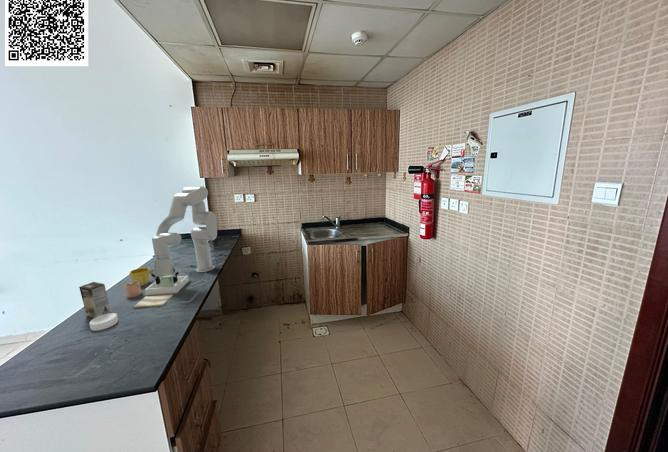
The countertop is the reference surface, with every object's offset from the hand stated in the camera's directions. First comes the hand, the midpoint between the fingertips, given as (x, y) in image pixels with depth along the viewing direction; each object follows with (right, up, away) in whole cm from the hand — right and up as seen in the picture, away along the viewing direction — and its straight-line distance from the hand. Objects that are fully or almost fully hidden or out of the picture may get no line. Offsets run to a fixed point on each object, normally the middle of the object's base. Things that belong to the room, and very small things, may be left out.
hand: (167, 283), depth 159 cm
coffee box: (-18, -11, -26) cm, 33 cm away
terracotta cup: (-15, -6, -6) cm, 17 cm away
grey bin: (0, -4, +1) cm, 4 cm away
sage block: (0, -3, +1) cm, 3 cm away
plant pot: (-22, -3, +10) cm, 24 cm away
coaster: (-7, -12, -35) cm, 38 cm away
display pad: (+2, -7, -14) cm, 16 cm away
